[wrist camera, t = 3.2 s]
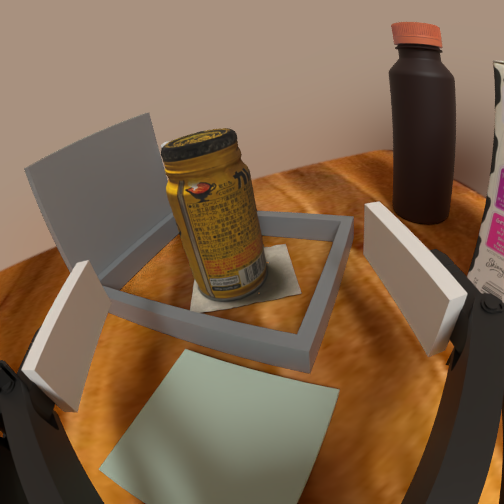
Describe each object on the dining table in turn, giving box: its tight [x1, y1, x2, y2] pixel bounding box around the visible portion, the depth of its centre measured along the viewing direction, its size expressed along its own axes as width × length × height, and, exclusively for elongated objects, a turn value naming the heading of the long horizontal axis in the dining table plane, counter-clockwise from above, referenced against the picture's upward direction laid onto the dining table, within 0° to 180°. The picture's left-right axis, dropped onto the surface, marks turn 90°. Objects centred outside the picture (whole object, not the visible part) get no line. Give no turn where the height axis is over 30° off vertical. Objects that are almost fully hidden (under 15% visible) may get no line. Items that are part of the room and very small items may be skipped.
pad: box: [99, 349, 340, 504], centre depth 13 cm, size 10×10×1 cm
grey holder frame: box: [24, 113, 354, 373], centre depth 23 cm, size 21×16×14 cm
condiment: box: [161, 128, 302, 313], centre depth 22 cm, size 7×8×12 cm
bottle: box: [389, 22, 456, 224], centre depth 24 cm, size 7×7×20 cm
